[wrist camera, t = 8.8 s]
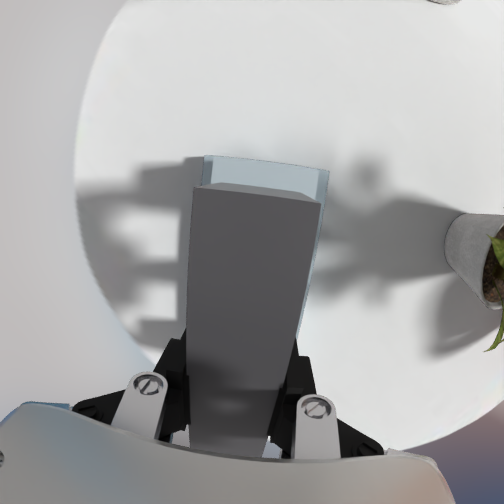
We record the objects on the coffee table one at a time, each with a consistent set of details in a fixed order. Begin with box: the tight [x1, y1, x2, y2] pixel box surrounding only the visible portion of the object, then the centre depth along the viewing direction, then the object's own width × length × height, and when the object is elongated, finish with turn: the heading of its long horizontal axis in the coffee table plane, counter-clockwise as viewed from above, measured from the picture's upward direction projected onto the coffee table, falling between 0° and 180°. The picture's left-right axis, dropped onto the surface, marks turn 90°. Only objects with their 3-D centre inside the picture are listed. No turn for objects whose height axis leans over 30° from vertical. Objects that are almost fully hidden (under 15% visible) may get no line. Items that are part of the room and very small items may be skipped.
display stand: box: [201, 155, 329, 341], centre depth 17 cm, size 16×8×7 cm, turn 173°
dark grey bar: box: [186, 182, 321, 457], centre depth 10 cm, size 14×3×4 cm, turn 173°
